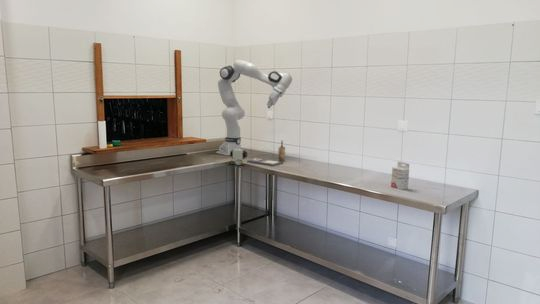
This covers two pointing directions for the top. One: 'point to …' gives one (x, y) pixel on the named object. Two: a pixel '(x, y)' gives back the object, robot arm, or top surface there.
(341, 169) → the top surface
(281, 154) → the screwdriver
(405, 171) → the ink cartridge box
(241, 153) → the pneumatic valve
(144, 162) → the top surface
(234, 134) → the robot arm
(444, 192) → the top surface
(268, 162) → the switch board
